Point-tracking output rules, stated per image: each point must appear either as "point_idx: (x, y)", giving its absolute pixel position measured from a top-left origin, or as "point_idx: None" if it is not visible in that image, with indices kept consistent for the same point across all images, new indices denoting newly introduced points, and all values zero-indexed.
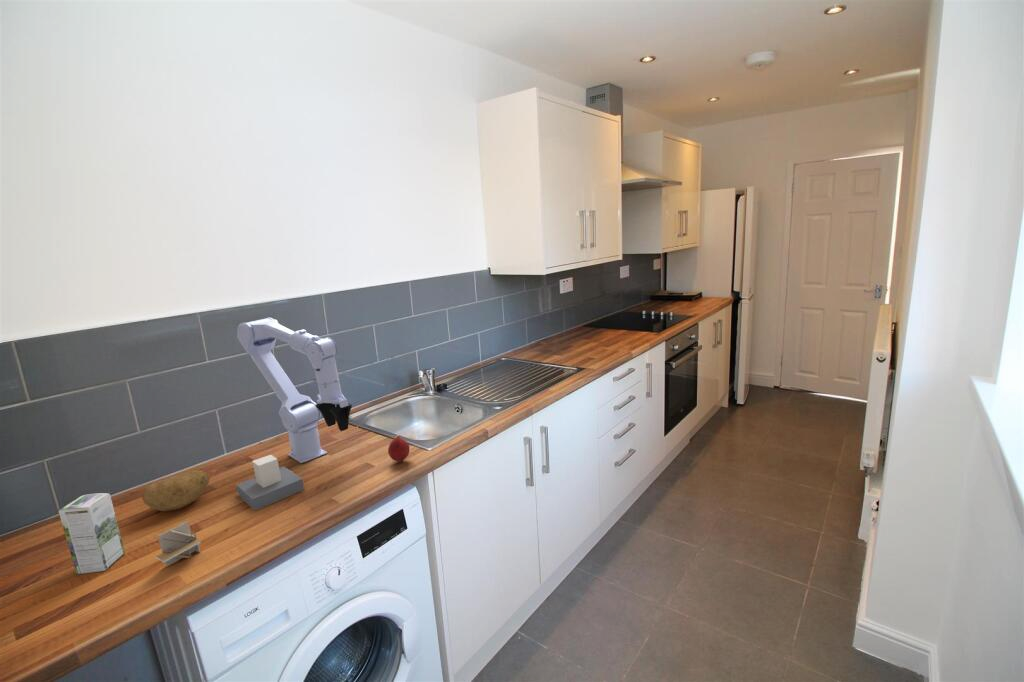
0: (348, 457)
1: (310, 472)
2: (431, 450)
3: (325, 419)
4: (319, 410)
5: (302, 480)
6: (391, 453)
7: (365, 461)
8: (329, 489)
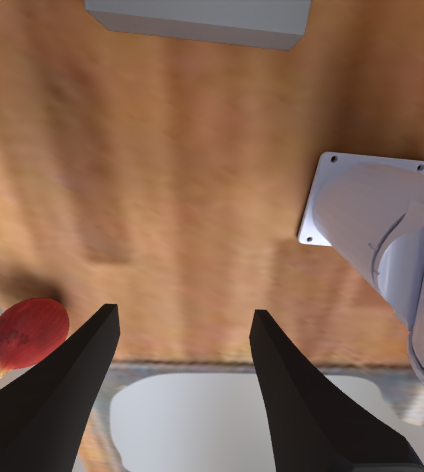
0: (209, 257)
1: (225, 131)
2: None
3: (272, 340)
4: (345, 400)
5: (90, 13)
6: (15, 309)
7: (139, 265)
8: (36, 94)
